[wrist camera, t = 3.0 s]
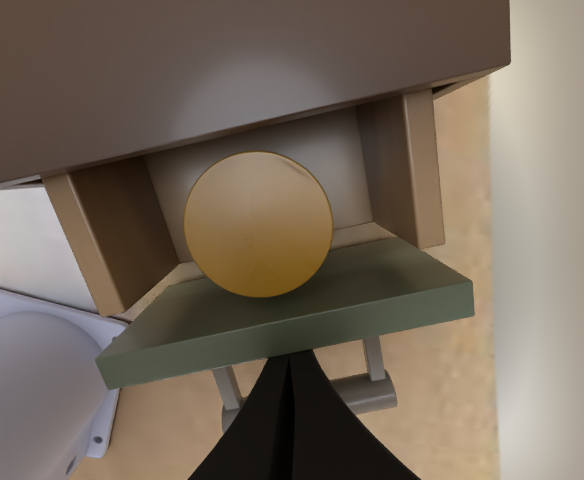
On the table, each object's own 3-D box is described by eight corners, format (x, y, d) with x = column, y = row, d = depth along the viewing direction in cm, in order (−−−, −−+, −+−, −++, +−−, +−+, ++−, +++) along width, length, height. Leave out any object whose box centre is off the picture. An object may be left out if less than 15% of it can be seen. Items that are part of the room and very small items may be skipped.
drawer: (411, 339, 15) (483, 436, 10) (202, 381, 16) (156, 498, 10) (363, -35, 11) (440, -241, 5) (80, 36, 11) (-113, -89, 6)
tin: (300, 270, 13) (306, 314, 9) (204, 242, 13) (168, 275, 9) (333, 175, 12) (355, 179, 8) (230, 141, 12) (201, 127, 8)
